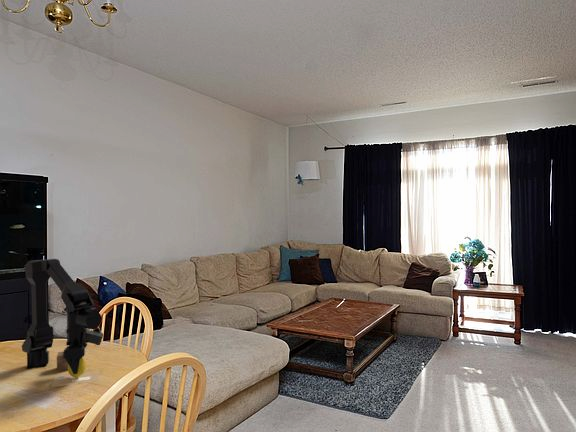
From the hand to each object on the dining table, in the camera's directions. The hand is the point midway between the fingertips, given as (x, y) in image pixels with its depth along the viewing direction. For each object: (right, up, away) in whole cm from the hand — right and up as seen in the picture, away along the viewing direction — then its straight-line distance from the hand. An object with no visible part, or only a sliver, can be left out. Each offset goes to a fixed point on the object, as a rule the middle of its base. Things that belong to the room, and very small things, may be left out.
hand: (76, 370), depth 148 cm
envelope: (0, -3, 0) cm, 3 cm away
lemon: (0, -3, 0) cm, 3 cm away
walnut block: (-9, -3, +9) cm, 13 cm away
